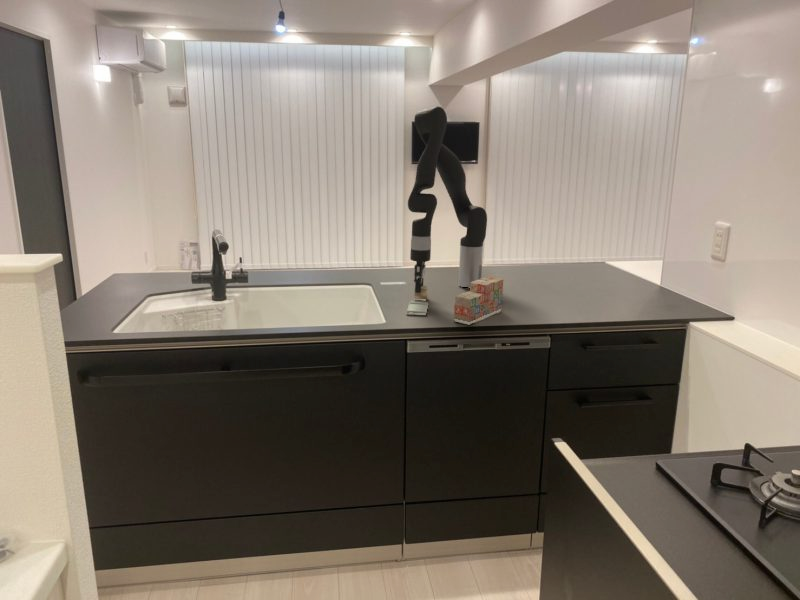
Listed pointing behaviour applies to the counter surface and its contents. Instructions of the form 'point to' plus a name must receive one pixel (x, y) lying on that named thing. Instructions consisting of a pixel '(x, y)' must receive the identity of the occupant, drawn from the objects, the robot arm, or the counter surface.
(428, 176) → the robot arm
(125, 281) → the counter surface
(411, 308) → the ceramic dish
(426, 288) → the maple block
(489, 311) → the stack of blocks
